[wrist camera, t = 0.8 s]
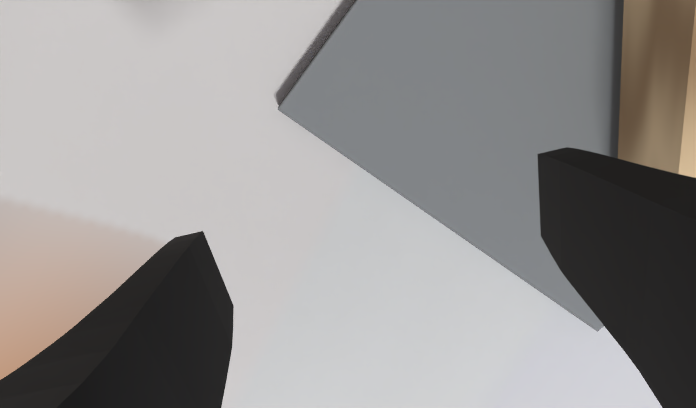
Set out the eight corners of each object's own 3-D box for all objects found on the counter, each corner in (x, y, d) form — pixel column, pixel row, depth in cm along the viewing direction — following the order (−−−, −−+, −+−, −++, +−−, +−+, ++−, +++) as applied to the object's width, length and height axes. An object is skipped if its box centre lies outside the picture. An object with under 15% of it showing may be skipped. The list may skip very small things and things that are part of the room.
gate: (658, 196, 17) (731, 249, 14) (615, 206, 17) (679, 260, 14) (690, -193, 12) (812, -233, 9) (630, -178, 12) (733, -214, 9)
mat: (1006, -23, 15) (1018, -22, 15) (593, 326, 20) (597, 331, 20) (738, -528, 10) (750, -540, 10) (278, 106, 15) (278, 109, 15)
